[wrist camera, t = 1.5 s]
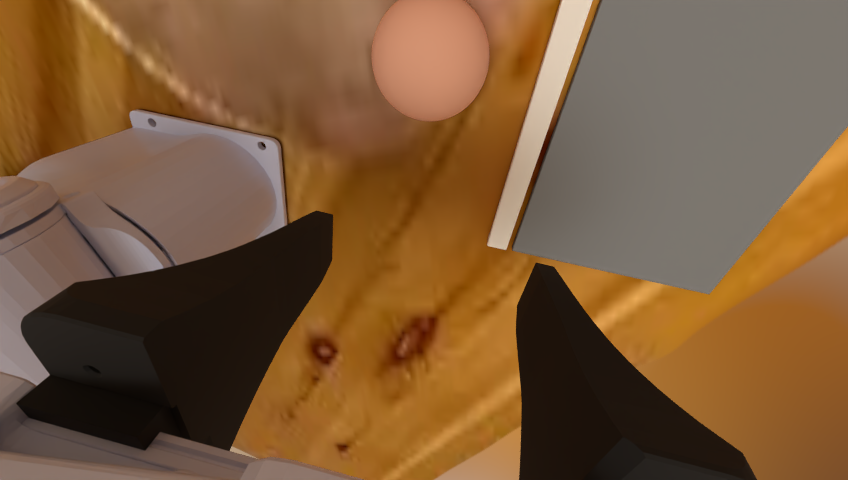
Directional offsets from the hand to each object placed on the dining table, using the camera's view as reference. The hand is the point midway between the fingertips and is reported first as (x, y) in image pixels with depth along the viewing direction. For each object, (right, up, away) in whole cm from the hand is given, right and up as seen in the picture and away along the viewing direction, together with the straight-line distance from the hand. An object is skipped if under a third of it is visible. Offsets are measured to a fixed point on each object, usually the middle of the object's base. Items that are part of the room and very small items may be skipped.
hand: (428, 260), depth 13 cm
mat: (+12, +7, +4) cm, 14 cm away
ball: (0, +8, +3) cm, 9 cm away
